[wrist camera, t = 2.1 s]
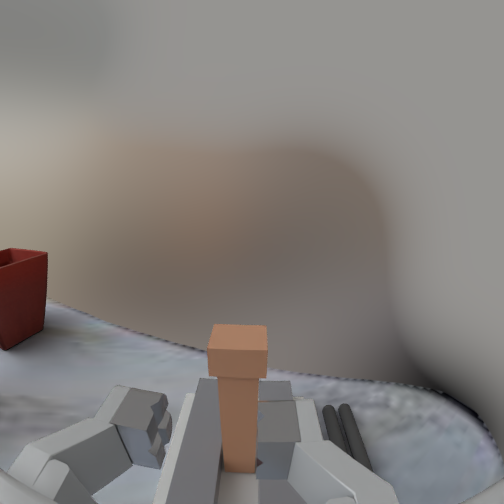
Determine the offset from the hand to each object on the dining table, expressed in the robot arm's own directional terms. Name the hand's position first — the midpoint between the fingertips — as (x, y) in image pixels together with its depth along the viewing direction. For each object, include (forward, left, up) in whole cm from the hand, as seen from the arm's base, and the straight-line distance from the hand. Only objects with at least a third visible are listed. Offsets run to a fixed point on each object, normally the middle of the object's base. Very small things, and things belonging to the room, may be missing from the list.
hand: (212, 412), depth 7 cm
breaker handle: (0, +12, -21) cm, 24 cm away
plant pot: (-52, +32, -22) cm, 65 cm away
